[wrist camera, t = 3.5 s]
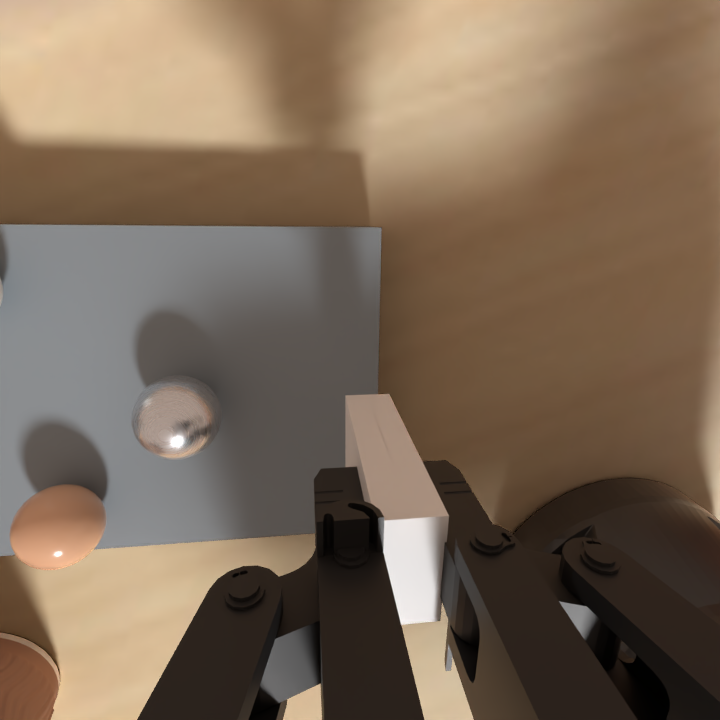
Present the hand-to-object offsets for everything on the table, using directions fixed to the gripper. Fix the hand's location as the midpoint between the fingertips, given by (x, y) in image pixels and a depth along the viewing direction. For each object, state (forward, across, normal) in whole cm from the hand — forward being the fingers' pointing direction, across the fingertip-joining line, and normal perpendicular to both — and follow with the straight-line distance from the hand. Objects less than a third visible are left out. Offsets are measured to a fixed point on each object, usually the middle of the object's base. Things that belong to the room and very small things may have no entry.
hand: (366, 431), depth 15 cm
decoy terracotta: (+3, +12, +5) cm, 13 cm away
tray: (+7, +12, 0) cm, 14 cm away
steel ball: (+3, +7, 0) cm, 7 cm away
